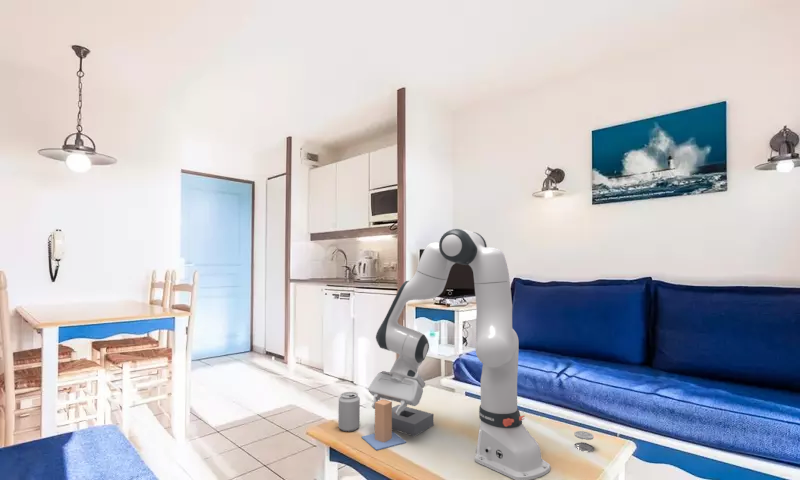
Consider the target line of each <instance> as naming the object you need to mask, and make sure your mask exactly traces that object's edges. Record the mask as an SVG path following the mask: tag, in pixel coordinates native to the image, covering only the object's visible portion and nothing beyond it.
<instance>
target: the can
mask: <svg viewBox="0 0 800 480" xmlns="http://www.w3.org/2000/svg"><path fill="white" fill-rule="evenodd" d="M358 395H359V393H357V392H355V391H346V392H342V393H340V396H339V397H338V429H340V430H341V431H342V432H347V431H348V432H354V431H356V430H357V429H358V428H359V427H360V426H361V424H360V422H361V421H360V419H361V418H360V416H361V415H360V414H361V413H360V411H361V410H360V407H361V406H360V405H361V403H360V402H361V399H360V397H359V396H358Z"/></svg>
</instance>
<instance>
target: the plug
mask: <svg viewBox="0 0 800 480" xmlns="http://www.w3.org/2000/svg"><path fill="white" fill-rule="evenodd" d="M392 407H393V401H392V400H388V399H384V398H381V399H380V400H378V401H377V402H375V409H374V433H375V440H378V441H381V442H386V441H388V440H390V439H392V431H393V429H392Z"/></svg>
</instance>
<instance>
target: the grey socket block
mask: <svg viewBox="0 0 800 480" xmlns="http://www.w3.org/2000/svg"><path fill="white" fill-rule="evenodd" d="M400 405H401V404H397V405H395V406H392V431H397V432H399V433H402V434H406V435H409V436H412V437H416V436H418V435H420V434H421V433H423V432H424V431H427V430H428V429H430V428H432V427H433V426H434V425H435V424H434V423H435V422H434V420H435V419H434V413H432V412H427V411H423V410H421V409H417V408H413V407H408V406H407V407H406V408H405V409H403V410H402V411H401V413H400V415H399V416H398V415H395V414H394V410H395V407H396V408H398V407H399V406H400Z"/></svg>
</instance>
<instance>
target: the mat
mask: <svg viewBox="0 0 800 480" xmlns="http://www.w3.org/2000/svg"><path fill="white" fill-rule="evenodd" d="M361 438H362V439H363V440H364V441H365V443H367V444H368V445H369V446H370V447H371V448H373V449H374V450H375V451H377V452H378V451H381V450H384V449H388V448H392V447H395V446H400V445H404V444H406V443H407V441H406V440H405V439H404V438H402V437H401V436H400V435H398V434H397V433H395V432H394V430H392V439H390V440H388V441H386V442H381V441H378V440H375V432H374V433H371V434H367V435H361Z"/></svg>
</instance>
